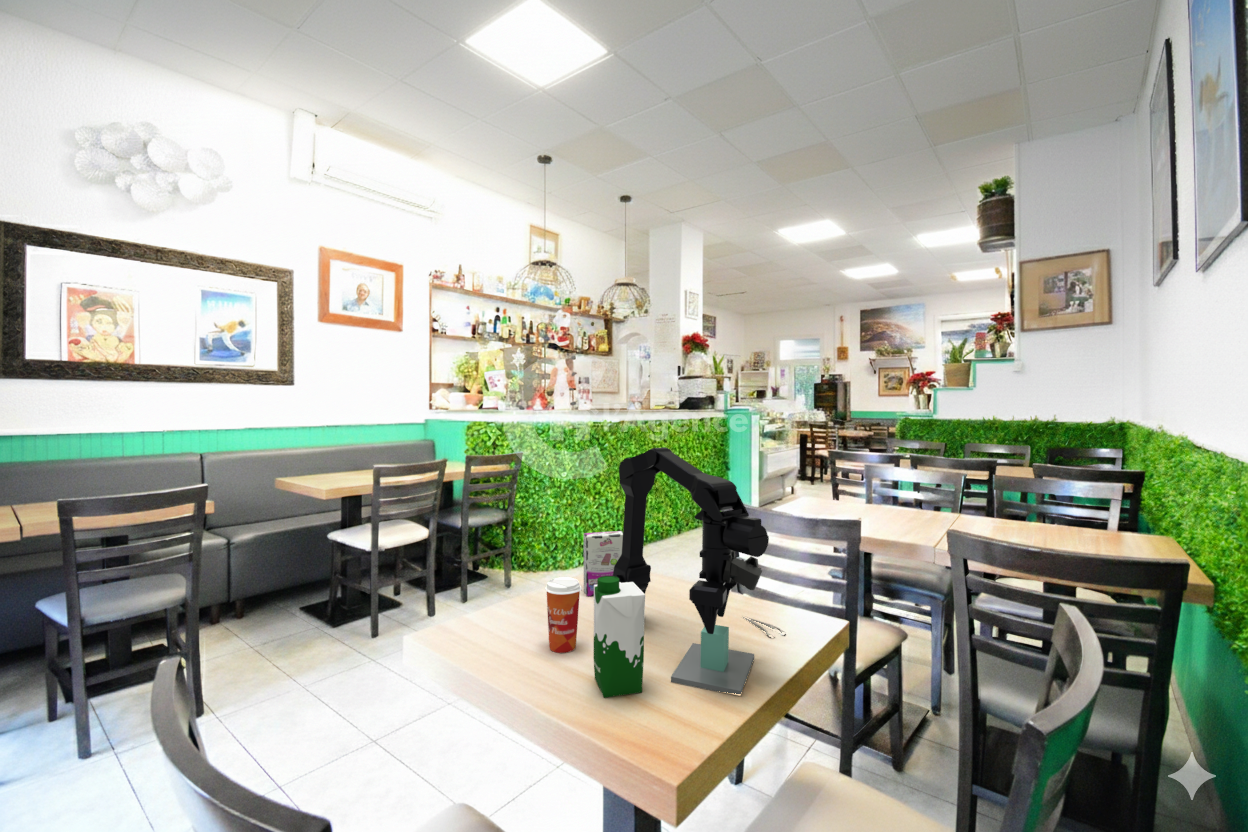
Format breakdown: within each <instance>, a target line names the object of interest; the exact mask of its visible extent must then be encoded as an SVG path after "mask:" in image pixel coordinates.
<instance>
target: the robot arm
mask: <svg viewBox="0 0 1248 832" xmlns="http://www.w3.org/2000/svg"><path fill="white" fill-rule="evenodd" d="M659 473H663V474H665V475H667V477H669V478H670V479H672V480H673V481H675V482H676V483H677V484H679V485H680V486H682V487H683V488H685V490H687V491H688V492H689V493H690V495H691V500H692V501H693V502H694V503H695V504H696V505H697V506H698V507H699V508H700V511H699V512H698V513H696V514H695V515H694V519H695V520H698V521H702V535H701V536H702V539H701V540H702V541H701V545H702V547H701V550H700V551H699V558H701V570H700V572H699V575H698V577H699V579H702V580H697V581H696V582H695V583H694V584H693V585H692V586H691V587H690V588H689V592H688V593H689V594H688V595H689V596H688V597H689V601H691V603H692V604H693V605H694V606H695V608H696V610H697V613H698V615H699V617H700V619H701V621H702V623H703V625H704V626H705V628H706V631H707V633H708V634H713V633H714V629H715V625H717V624H716V622H717V617H720V618H723V617H724V616H725V612H726V608H727V604H728V599H729V597H730V596H729V595H730V592H731V590H732V589H733V588H734V587H735V586H736V585H738V584H740V585H741V586H743V587H745V589H747V590H749V591H755V589H756V587H757V585H758V583H759V580H760V578H761V575H762V573H763V570H762V567H760V566H759V560H758V558H759V557H761V556H763V555H764V554H765V552H766V551H767V549H768V546H769V541H770V539H769V538H770V537H769V535H768V531H767V529H766V528H765V526H763V525H762V519H761V518H758V517H749V516H750V515H749V512H748V510H747V508H746V506H745V504H744V502H743V500H742V498H741V496H740V494H739V492H738V491H737V486H736V484H735V483H734V482H733V481H731V480H728V479H726V478H723V477H720V476H717V475H711V474H708V473H705V472H703V471H701V470H700V469H699V468H697V467H695V466H694V465H693V464H692V463H690V462H688V461H687V460H685V459H683V458H682V457H680V456H679V455H677V454H676V453H675V452H673V451H672V450H671V449H670V448H668V447H652V448H650V449H648V450H647V451H646V450H645V452H642V453H639V454H637V455H635V456H632V457H626V458H625V457H624V459H623V460H622V461H620V462H619V467H618V478H619V480H618V481H619V482H618V483H619V485H620V487H621V489H622V490H623V491H622V492H624V511H623V512H624V513H623V514H624V515H623V527H622V528H623V529H622V532H623V541H622V554H621V556H620V558H619V559H618V561H617V563H616V564H615V566H614V571H613V576H615V577H617V578H619V582H621V583H625V582H634V583H635V584H636V585H637V587H638V588H639V589H640V590H641V591H642V592H643V593H644V594H645V595H646V591H647V588H648V587H649V583H651V582H652V581H651V569H652V567H651V565H650V564H648V563H647V562H646V560H645V558H644V542H645V540H644V539H645V526H646V515H647V513H646V512H647V498H648V495H649V494H650V492H651V490H652V489H653V487H654V485H655V481H656V476H657V475H658V474H659ZM736 553H740V554H744V555H747V556H749V557H747V559H746V560H745V559H743V558H741V559H740V558H738V557H736ZM703 579H705V580H703ZM704 626H703V627H704Z"/></svg>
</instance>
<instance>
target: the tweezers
mask: <svg viewBox="0 0 1248 832" xmlns="http://www.w3.org/2000/svg"><path fill="white" fill-rule="evenodd" d="M742 617H743V616H742ZM745 617H747V618H749V619H751V620H749V619H747V618H745ZM745 617H743V618H742V619H744V618H745V619H746V620H745V619H744V620H745V621H747V620H748V621H749V622H748V621H747V622H748V623H750V622H751V623H752V625H753V624H754V625H755V627H756V626H757V627H758V628H760V629H761V630H763V631H765V632H766V634H767V635H768V636H769V635H772V634H771V633H769V631H768V630H767V628H765V627H764V626H762V625H760V624H758V623H756V622H759V623H761V624H764V625H766V626H768V627H770V628H772V629H776V630H779V631H780V632H781V633H782V632H785V631H784V630H782V629H781V628H779V627H778V626H776V625H773V624H771V623H767V622H764V621H761V620H758V619H754V618H751V617H748V616H745ZM752 620H753V621H752ZM754 621H756V622H754ZM751 623H750V624H751ZM754 625H753V626H754ZM757 627H756V628H757ZM758 628H757V629H758ZM760 629H759V630H760ZM761 630H760V631H761ZM766 634H765V635H766ZM767 635H766V636H767ZM768 636H767V637H768Z"/></svg>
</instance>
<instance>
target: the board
mask: <svg viewBox="0 0 1248 832" xmlns="http://www.w3.org/2000/svg"><path fill="white" fill-rule="evenodd" d="M753 660H754V661H755V653H751V652H748V651H747V652H746V651H741V650H735V649H730V648H729V649H728V664H727V666H726V668H725V670H724V672H721V671H716V670H711V669H706V668H701V667H700V665H701V643H696V642H692V643H691V645H690V647H689V648H688V649H687V651H686V653H685V654H684V656H683V657H682V659H681V660H680V662H679V664H678V665H677V667H676V668H675V670H674V671H673V673H672V675H671V676H670V683H674V684H678V685H679V684H680V685H683V686H688V687H694V688H698V689H704V690H707V691H711V692H712V691H713V692H717V691H718V692H717V693H721V692H726V693H727V692H728V693H734V694H735V693H736V694H741V692H742V693H743V691H744V689H743V687H744V688H745V686H744V684H745V685H746V683H745V682H747V680H748V678H747V676H748V677H749V675H750V672H749V671H751V669H752V667H751V665H752V666H753V664H752V662H753V663H754V661H753ZM750 668H751V669H750ZM748 674H749V675H748ZM746 679H747V680H746ZM742 690H743V691H742ZM719 691H720V692H719ZM726 693H725V694H726ZM741 695H742V694H741Z"/></svg>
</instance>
